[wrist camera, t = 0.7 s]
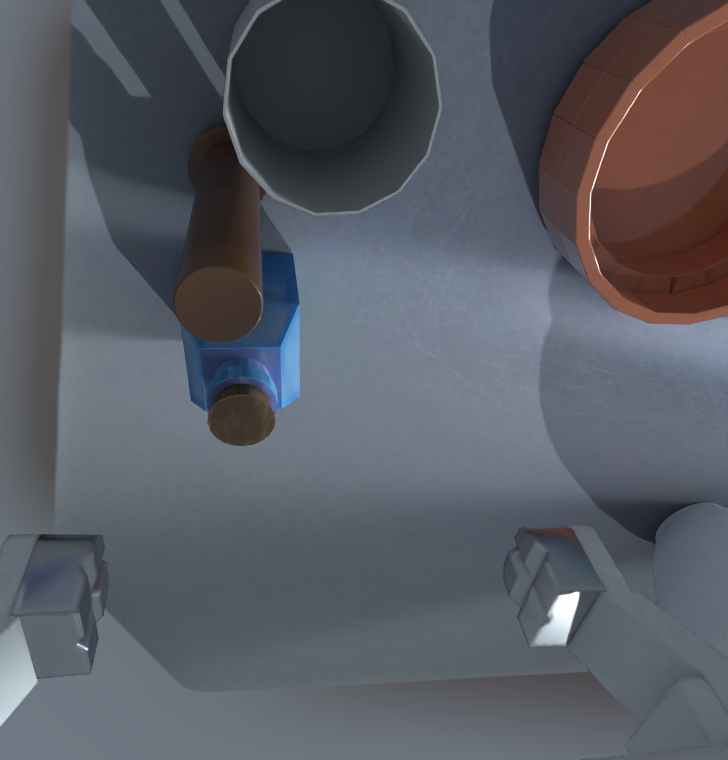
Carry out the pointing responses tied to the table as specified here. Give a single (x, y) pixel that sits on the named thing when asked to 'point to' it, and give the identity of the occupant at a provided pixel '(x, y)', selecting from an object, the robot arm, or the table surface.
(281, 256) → the perfume bottle
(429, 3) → the table surface
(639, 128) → the bowl
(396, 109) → the cup
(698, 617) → the vase
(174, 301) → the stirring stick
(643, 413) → the table surface
